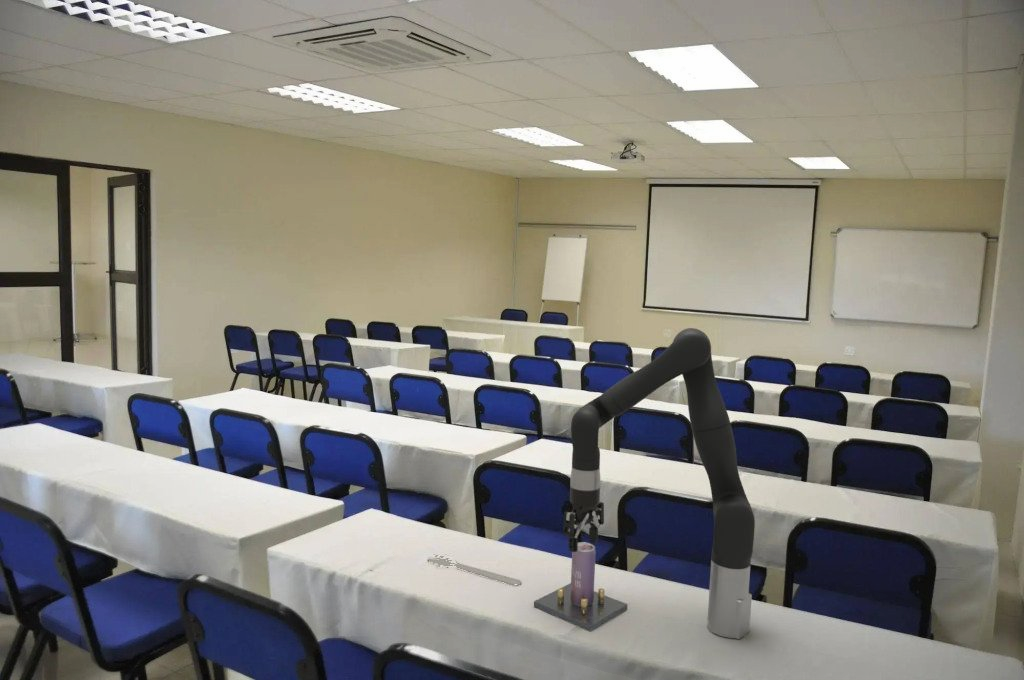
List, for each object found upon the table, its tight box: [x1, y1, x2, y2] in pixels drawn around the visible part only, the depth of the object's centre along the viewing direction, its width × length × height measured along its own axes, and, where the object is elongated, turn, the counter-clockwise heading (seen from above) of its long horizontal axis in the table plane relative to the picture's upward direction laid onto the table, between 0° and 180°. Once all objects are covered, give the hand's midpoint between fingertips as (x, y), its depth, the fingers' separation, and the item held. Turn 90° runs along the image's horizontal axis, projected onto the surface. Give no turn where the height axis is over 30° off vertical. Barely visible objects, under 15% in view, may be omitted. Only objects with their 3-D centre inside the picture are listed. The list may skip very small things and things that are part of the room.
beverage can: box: [570, 541, 597, 607], centre depth 188 cm, size 6×6×15 cm
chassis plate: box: [533, 582, 629, 632], centre depth 188 cm, size 18×16×5 cm
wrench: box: [427, 554, 523, 587], centre depth 209 cm, size 8×32×1 cm, turn 59°
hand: (583, 546), depth 187 cm, fingers open, 8 cm apart
